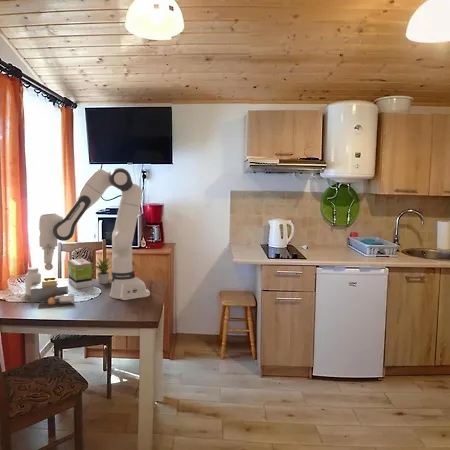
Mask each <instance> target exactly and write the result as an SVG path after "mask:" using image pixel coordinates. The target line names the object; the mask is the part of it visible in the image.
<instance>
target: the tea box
mask: <svg viewBox="0 0 450 450" xmlns="http://www.w3.org/2000/svg"><path fill="white" fill-rule="evenodd" d="M92 265H93V264H92V262H90V261H89V260H87V259H85V258H77V259H69V260H67V271H68V272H67V273H68V275H67V276H68V283H69V284H70V285H71V286H73V287H74V288H75V289H76V290H77V289H82V288H88V287H92V286H93V266H92Z"/></svg>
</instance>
